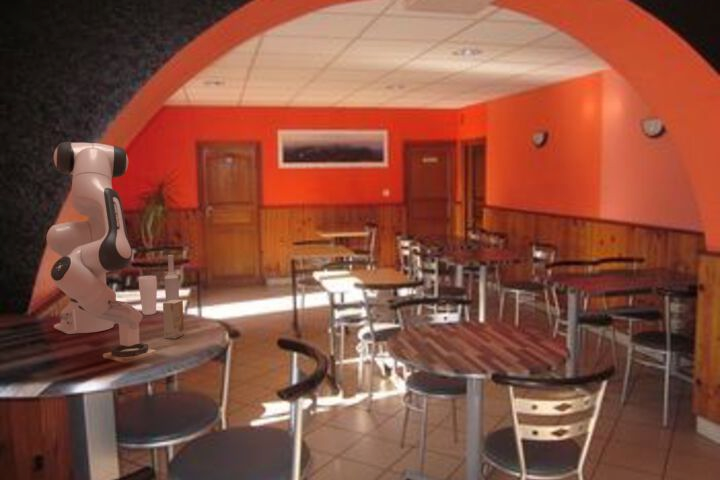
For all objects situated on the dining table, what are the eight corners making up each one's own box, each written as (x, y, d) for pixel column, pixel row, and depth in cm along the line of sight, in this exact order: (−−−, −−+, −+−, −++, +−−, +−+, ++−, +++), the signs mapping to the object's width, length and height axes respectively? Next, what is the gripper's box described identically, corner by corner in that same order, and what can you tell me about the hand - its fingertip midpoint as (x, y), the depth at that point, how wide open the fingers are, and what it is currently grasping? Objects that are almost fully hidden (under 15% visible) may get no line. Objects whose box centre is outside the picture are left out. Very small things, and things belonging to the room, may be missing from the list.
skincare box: (175, 339, 200) (173, 303, 199) (163, 338, 201) (162, 303, 200) (184, 334, 207) (183, 299, 205) (173, 333, 207) (171, 299, 206)
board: (103, 357, 180) (102, 349, 180) (134, 348, 190) (134, 340, 189) (125, 362, 174) (125, 354, 174) (157, 353, 184) (156, 345, 183)
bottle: (163, 320, 228) (160, 255, 225) (175, 317, 232) (173, 254, 229) (170, 322, 224) (167, 256, 222) (183, 319, 228) (180, 255, 226)
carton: (120, 344, 181) (118, 315, 180) (131, 341, 184) (129, 312, 183) (128, 346, 179) (126, 316, 178) (139, 343, 182) (138, 314, 181)
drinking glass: (137, 315, 237) (135, 278, 235) (145, 311, 244) (144, 275, 242) (152, 315, 236) (151, 278, 234) (161, 312, 242) (159, 275, 241)
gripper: (128, 294, 168) (158, 321, 178) (85, 288, 180) (116, 314, 189) (115, 313, 165) (146, 339, 174) (72, 305, 176) (104, 330, 185)
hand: (130, 326), depth 182 cm, fingers closed on carton, 4 cm apart
